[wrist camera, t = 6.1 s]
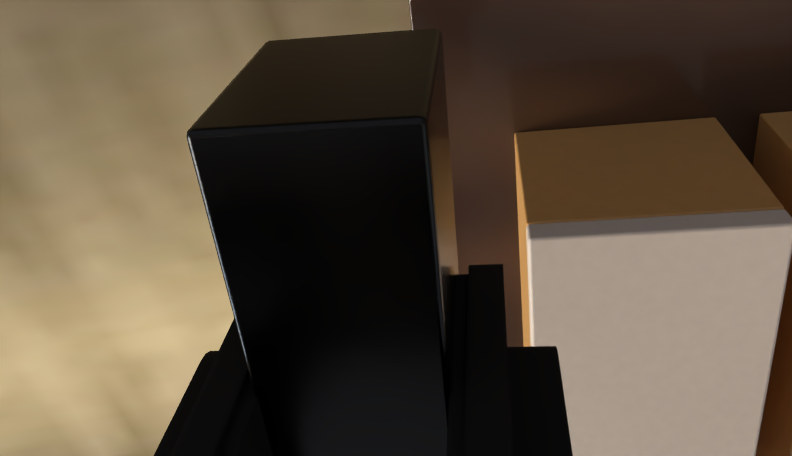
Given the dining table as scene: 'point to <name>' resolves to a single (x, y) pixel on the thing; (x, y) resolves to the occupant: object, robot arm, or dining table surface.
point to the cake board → (590, 89)
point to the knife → (338, 238)
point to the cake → (662, 283)
